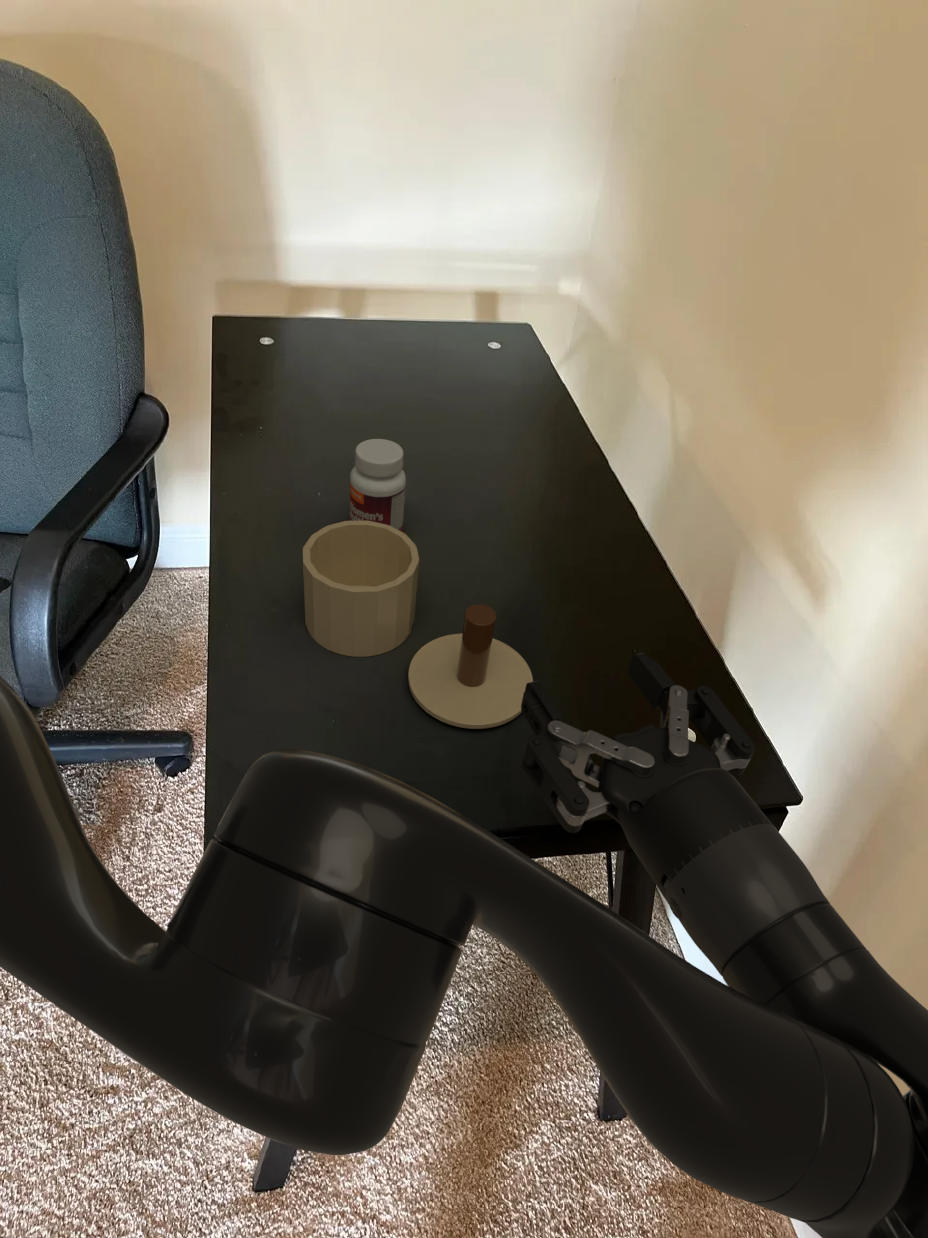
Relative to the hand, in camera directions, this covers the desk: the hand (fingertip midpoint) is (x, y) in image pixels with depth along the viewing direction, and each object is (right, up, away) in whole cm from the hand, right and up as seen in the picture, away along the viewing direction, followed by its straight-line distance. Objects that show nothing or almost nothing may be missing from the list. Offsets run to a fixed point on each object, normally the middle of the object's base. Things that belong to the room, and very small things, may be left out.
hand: (582, 675), depth 58 cm
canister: (-19, +4, +27) cm, 33 cm away
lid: (-8, -2, +22) cm, 23 cm away
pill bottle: (-19, +13, +38) cm, 44 cm away
